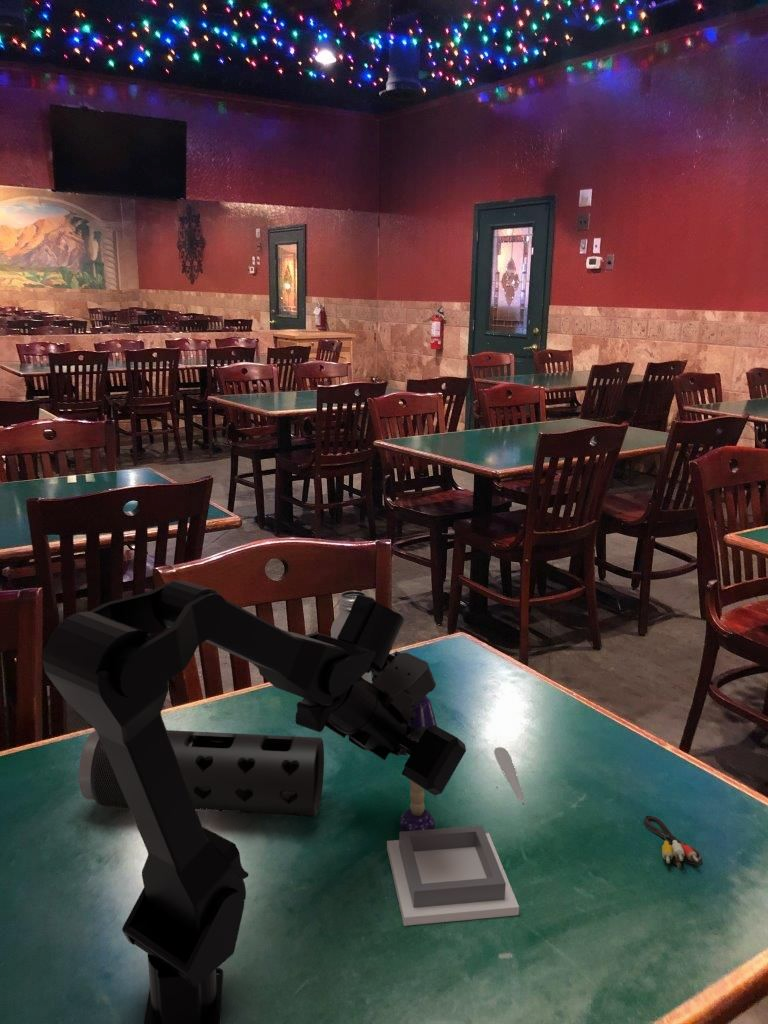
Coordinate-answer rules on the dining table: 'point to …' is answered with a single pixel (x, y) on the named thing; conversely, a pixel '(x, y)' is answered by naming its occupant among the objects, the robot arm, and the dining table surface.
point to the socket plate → (449, 876)
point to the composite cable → (673, 844)
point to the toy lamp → (416, 814)
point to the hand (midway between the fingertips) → (425, 760)
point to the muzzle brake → (226, 772)
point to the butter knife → (509, 771)
